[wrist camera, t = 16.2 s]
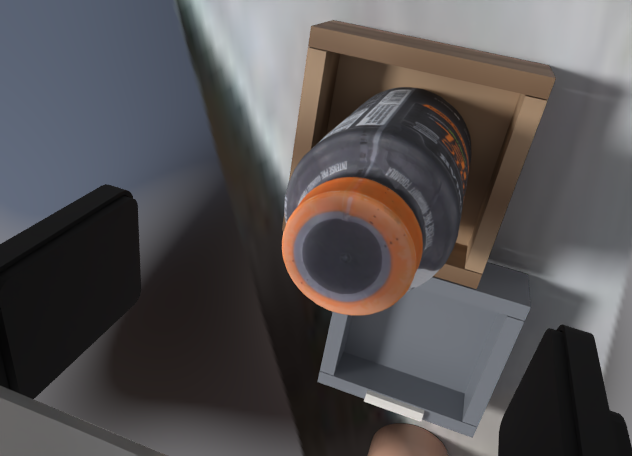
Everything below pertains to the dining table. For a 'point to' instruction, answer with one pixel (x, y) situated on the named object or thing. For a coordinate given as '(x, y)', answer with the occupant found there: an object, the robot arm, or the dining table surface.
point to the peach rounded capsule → (405, 442)
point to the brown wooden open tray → (454, 87)
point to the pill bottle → (377, 202)
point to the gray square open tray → (431, 348)
